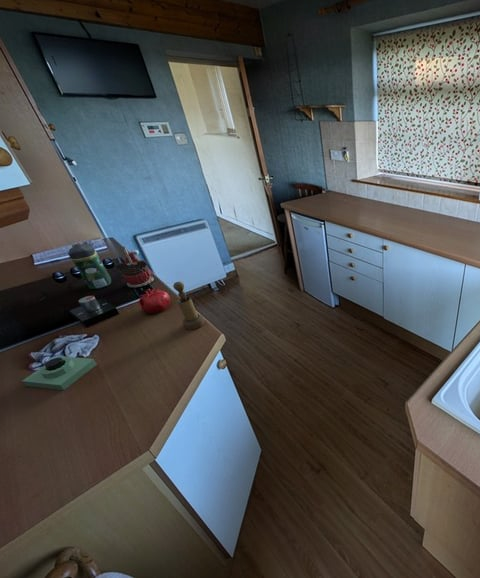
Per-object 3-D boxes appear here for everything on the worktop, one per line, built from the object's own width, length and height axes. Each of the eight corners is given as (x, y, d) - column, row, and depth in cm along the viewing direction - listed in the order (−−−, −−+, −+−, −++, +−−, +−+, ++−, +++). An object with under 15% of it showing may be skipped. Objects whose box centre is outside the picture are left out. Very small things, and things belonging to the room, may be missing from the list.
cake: (123, 290, 127) (103, 252, 117) (130, 280, 134) (111, 244, 125) (153, 286, 130) (135, 248, 121) (157, 276, 138) (141, 240, 128)
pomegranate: (176, 299, 121) (168, 280, 116) (168, 313, 113) (159, 293, 108) (148, 303, 119) (139, 283, 114) (138, 317, 111) (127, 297, 106)
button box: (26, 386, 83) (17, 376, 81) (62, 360, 92) (55, 351, 90) (64, 390, 82) (56, 380, 80) (97, 364, 91) (91, 354, 89)
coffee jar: (90, 282, 132) (67, 244, 122) (112, 277, 136) (92, 240, 126) (88, 292, 125) (63, 252, 116) (111, 286, 129) (90, 248, 120)
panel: (73, 317, 111) (69, 310, 109) (105, 304, 118) (101, 297, 116) (86, 327, 105) (82, 320, 104) (119, 313, 113) (115, 307, 111)
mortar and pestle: (180, 327, 106) (161, 285, 97) (195, 317, 111) (179, 276, 102) (193, 331, 104) (175, 289, 95) (208, 321, 109) (192, 280, 100)
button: (44, 370, 84) (40, 365, 83) (57, 361, 87) (54, 356, 86) (55, 371, 83) (52, 367, 82) (68, 362, 86) (65, 357, 85)
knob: (87, 313, 107) (80, 303, 105) (82, 310, 109) (75, 299, 107) (102, 307, 111) (96, 297, 108) (97, 304, 113) (90, 293, 110)
